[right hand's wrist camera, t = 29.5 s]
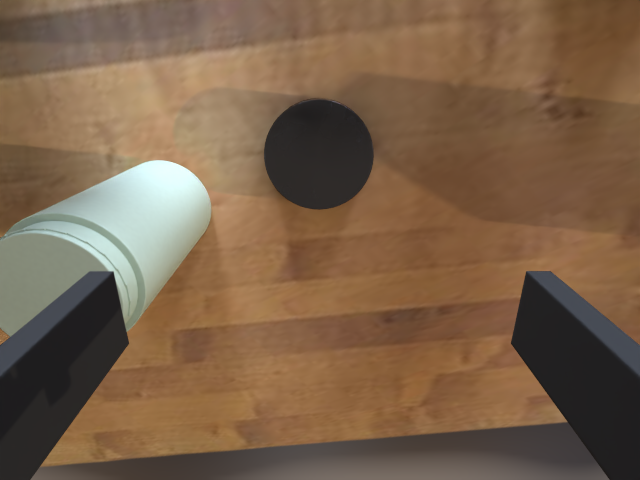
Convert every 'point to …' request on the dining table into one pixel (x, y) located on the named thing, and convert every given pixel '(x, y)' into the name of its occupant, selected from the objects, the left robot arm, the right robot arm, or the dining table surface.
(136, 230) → the jar
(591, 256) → the dining table surface
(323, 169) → the lid
